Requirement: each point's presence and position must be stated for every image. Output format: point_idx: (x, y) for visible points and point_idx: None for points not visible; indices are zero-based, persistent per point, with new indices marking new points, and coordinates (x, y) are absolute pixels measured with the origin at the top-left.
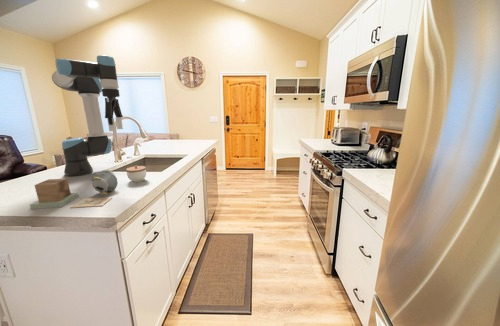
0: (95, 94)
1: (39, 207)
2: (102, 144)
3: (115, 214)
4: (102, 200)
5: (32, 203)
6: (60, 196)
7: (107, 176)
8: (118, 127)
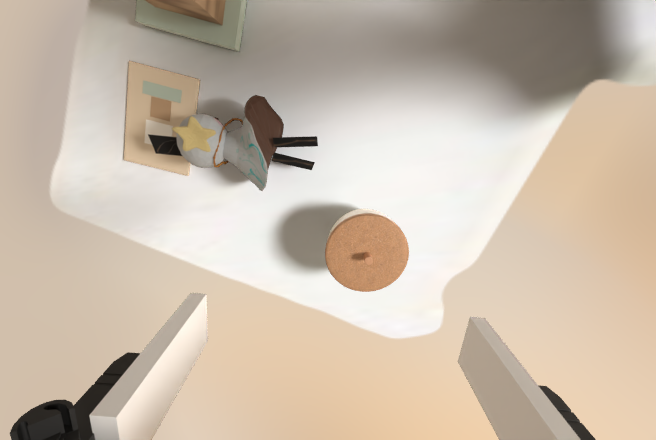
0: None
1: None
2: None
3: (61, 205)
4: None
5: None
6: (160, 5)
7: (248, 161)
8: (474, 342)
